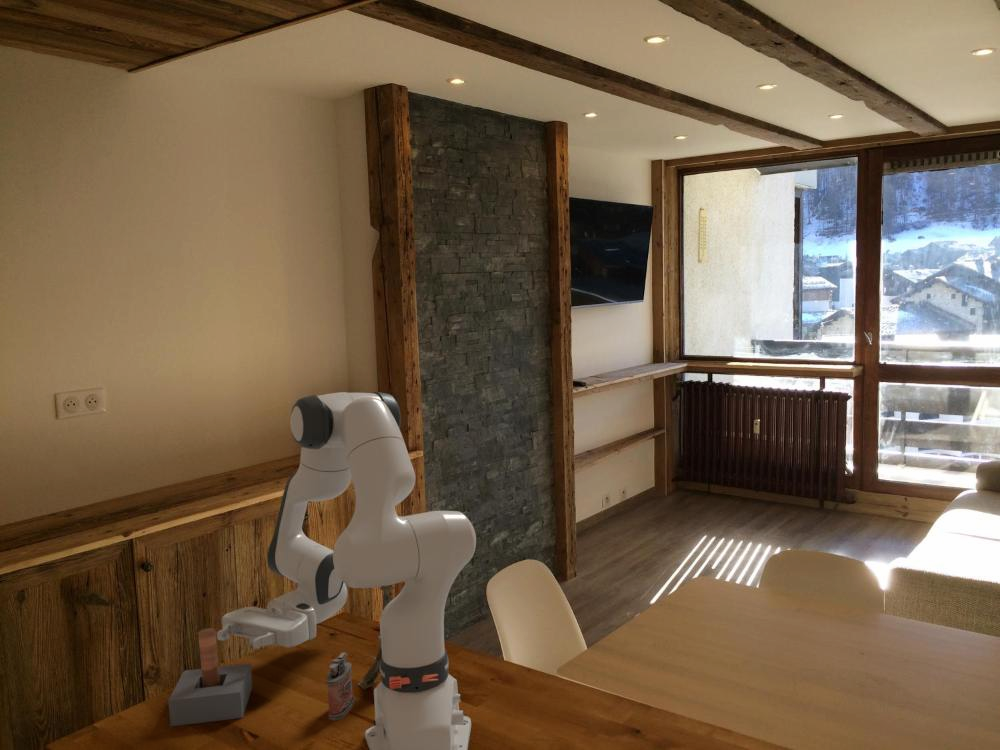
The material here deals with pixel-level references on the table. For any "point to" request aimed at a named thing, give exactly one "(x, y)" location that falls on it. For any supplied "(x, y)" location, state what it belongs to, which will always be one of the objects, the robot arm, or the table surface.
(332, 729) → the table surface
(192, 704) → the holder
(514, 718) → the table surface
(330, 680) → the lighter
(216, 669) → the peg
